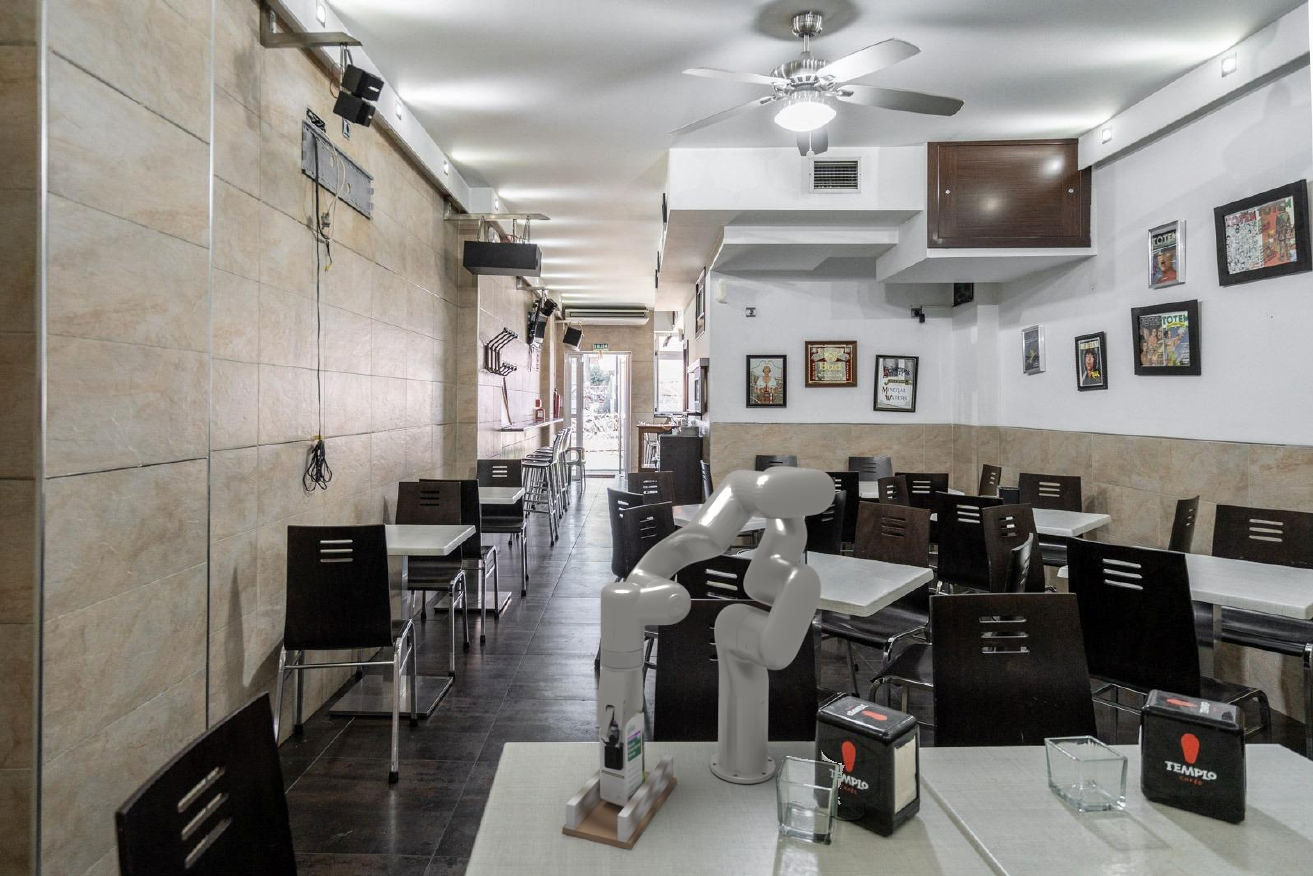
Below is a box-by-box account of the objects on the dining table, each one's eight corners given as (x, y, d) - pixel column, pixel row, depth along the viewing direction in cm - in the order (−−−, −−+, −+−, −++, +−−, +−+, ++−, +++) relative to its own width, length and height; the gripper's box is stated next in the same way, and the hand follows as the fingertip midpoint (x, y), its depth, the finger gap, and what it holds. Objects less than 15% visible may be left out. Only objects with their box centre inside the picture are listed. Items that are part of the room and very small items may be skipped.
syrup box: (627, 808, 120) (627, 723, 120) (598, 798, 123) (598, 715, 123) (645, 793, 125) (645, 711, 124) (617, 784, 128) (617, 704, 127)
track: (617, 771, 137) (617, 745, 137) (676, 783, 133) (676, 756, 133) (562, 833, 117) (562, 803, 117) (630, 849, 112) (630, 818, 112)
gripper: (622, 639, 133) (622, 734, 133) (579, 670, 116) (579, 778, 117) (660, 643, 130) (660, 741, 131) (622, 676, 114) (622, 787, 114)
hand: (622, 758), depth 124 cm, fingers closed on syrup box, 6 cm apart
